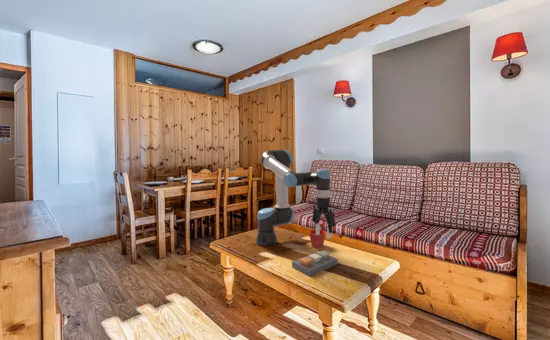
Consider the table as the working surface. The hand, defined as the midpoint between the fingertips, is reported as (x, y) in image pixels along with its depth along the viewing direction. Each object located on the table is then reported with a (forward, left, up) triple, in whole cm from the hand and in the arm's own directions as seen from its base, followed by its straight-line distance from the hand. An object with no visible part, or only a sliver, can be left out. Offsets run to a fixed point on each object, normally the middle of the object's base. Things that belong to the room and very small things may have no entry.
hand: (323, 236), depth 150 cm
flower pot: (-20, +16, -16) cm, 30 cm away
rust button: (0, -14, -13) cm, 19 cm away
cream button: (0, -7, -13) cm, 14 cm away
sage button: (0, 0, -13) cm, 13 cm away
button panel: (0, -7, -15) cm, 17 cm away
